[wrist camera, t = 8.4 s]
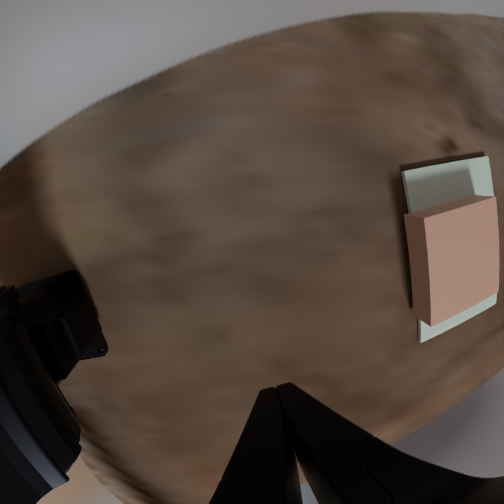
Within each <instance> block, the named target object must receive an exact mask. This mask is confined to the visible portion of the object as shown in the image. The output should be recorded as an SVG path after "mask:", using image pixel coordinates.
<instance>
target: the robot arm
mask: <svg viewBox="0 0 504 504" xmlns="http://www.w3.org/2000/svg"><path fill="white" fill-rule="evenodd" d="M71 275H73V276H74V279H75V280H74V281H73V280H72V279H71ZM18 293H19V294H20V296H19V295H18ZM101 331H102V328H101V326H100V324H99V321H98V319H97V316H96V314H95V311H94V309H93V306H92V303H91V301H90V299H89V298H88V297H87V295H86V293H85V290H84V287H83V284H82V281H81V279H80V276H79V274H78V272H77V271H75V270H70V271H67V272H64V273H61V274H57V275H54V276H51V277H48V278H45V279H42V280H39V281H36V282H33V283H30V284H27V285H24V286H21V287H18V288H16V289H15V286H14V285H12V286H9V287H5V285H4V286H0V504H36V503H37V502H38V501H39V500H40V499H41V498H42V497H43V496H44V495H46V494H47V493H48V492H50V491H51V490H52V489H54V488H56V487H58V486H60V485H62V484H64V483H66V482H68V481H69V477H68V476H67V475H66V474H65V473H66V472H67V471H68V470H69V469H70V467H71V466H72V464H73V463H74V462H75V461H76V459H77V458H78V456H79V454H80V452H81V448H82V447H81V445H80V444H79V441H80V433H81V429H80V426H79V423H78V421H77V419H76V418H77V414H76V413H75V411H74V409H73V408H72V407H70V406H69V404H68V402H67V401H66V399H65V397H64V396H63V394H62V392H61V390H60V389H59V387H58V385H59V384H60V382H61V381H62V380H64V379H66V378H67V377H68V375H69V374H70V372H71V371H72V370H73V368H74V367H75V365H76V364H77V363H78V361H79V360H85V359H90V358H96V357H102V356H105V355H106V353H107V352H108V346H107V344H106V342H105V340H104V337H103V335H102V333H101ZM99 347H101V348H102V349H103V351H101V350H100V349H99ZM293 448H294V449H293ZM295 455H296V456H295ZM296 458H297V460H298V462H299V465H300V467H301V469H302V471H303V473H304V475H305V477H306V479H307V481H308V483H309V485H310V487H311V489H312V492H313V494H314V495H315V497H316V500H317V501H318V504H504V476H502V477H495V478H480V477H473V476H469V475H465V474H462V473H459V472H455V471H453V470H450V469H447V468H444V467H441V466H438V465H435V464H432V463H430V462H427V461H424V460H421V459H419V458H416V457H414V456H411V455H409V454H407V453H405V452H402V451H400V450H398V449H396V448H394V447H393V446H391V445H389V444H387V443H385V442H384V441H382V440H380V439H379V438H377V437H374V436H373V435H372V434H370V433H368V432H367V431H365V430H364V429H362V428H360V427H359V426H357V425H355V424H354V423H352V422H351V421H349V420H347V419H346V418H344V417H343V416H341V415H340V414H338V413H336V412H335V411H333V410H332V409H330V408H329V407H327V406H326V405H324V404H323V403H321V402H320V401H318V400H317V399H315V398H314V397H312V396H311V395H309V394H308V393H306V392H305V391H303V390H302V389H300V388H299V387H297V386H296V385H294V384H293V383H291V382H288V383H285V384H281V385H278V386H277V387H276V388H275V387H270V388H266V389H263V390H260V392H259V394H258V396H257V399H256V401H255V403H254V406H253V408H252V411H251V413H250V415H249V418H248V420H247V422H246V425H245V427H244V429H243V432H242V434H241V436H240V438H239V441H238V443H237V445H236V448H235V450H234V452H233V454H232V456H231V459H230V461H229V463H228V465H227V467H226V470H225V472H224V474H223V476H222V478H221V479H222V480H221V481H220V482H219V484H218V486H217V489H216V491H215V493H214V495H213V496H212V498H211V500H210V502H209V504H303V502H302V495H301V487H300V480H299V473H298V466H297V461H296Z"/></svg>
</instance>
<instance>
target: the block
mask: <svg viewBox="0 0 504 504" xmlns="http://www.w3.org/2000/svg"><path fill="white" fill-rule="evenodd" d="M404 220H405V227H406V234H407V242H408V251H409V260H410V270H411V282H412V296H413V315H414V316H416V317H417V318H419V319H420V320H421V321H423V322H424V323H426V324H427V325H429V326H430V327H432V326H434V325H436V324H438V323H441V322H443V321H445V320H447V319H449V318H451V317H453V316H455V315H457V314H459V313H461V312H463V311H465V310H466V309H468V308H470V307H472V306H474V305H476V304H478V303H480V302H481V301H483V300H485V299H487V298H489V297H490V296H492V295H494V294H496V293H497V292H498V290H499V233H498V217H497V205H496V197H493V196H482V195H473V196H469V197H466V198H462V199H459V200H455V201H451V202H448V203H444V204H441V205H437V206H433V207H430V208H426V209H423V210H419V211H415V212H412V213H408V214H404Z"/></svg>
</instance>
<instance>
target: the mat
mask: <svg viewBox="0 0 504 504" xmlns="http://www.w3.org/2000/svg"><path fill="white" fill-rule="evenodd" d="M401 173H402V178H403V184H404V189H405V195H406V201H407V207H408V213H412V212H415V211H419V210H423V209H426V208H430V207H433V206H437V205H441V204H444V203H448V202H451V201H455V200H459V199H462V198H466V197H469V196H473V195H482V196H493V197H494V193H493V185H492V178H491V171H490V164H489V159H488V156H483V157H477V158H471V159H465V160H460V161H454V162H448V163H443V164H437V165H432V166H427V167H421V168H416V169H411V170H406V171H401ZM496 297H497V293H496V294H494V295H492V296H490V297H489V298H487V299H485V300H483V301H481V302H480V303H478V304H476V305H474V306H472V307H470V308H468V309H466V310H465V311H463V312H461V313H459V314H457V315H455V316H453V317H451V318H449V319H447V320H445V321H443V322H441V323H438V324H436V325H434V326H432V327H430V326H429V325H427V324H426V323H424V322H423V321H421V320H420V319H419V318H418V341H419V342H420V343H422V342H424V341H426V340H429V339H431V338H433V337H435V336H437V335H439V334H441V333H443V332H445V331H447V330H449V329H451V328H453V327H455V326H457V325H459V324H460V323H462V322H464V321H466V320H468V319H470V318H472V317H473V316H475V315H477V314H479V313H481V312H482V311H484V310H486V309H488V308H489V307H491V306H493V305H494V304H496Z"/></svg>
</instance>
